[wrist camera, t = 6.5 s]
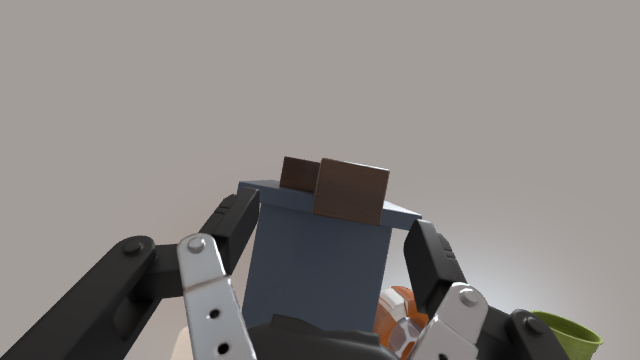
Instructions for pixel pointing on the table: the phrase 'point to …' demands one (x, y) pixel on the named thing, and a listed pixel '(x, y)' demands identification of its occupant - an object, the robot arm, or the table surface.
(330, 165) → the paddle
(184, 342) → the table surface
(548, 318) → the plant pot
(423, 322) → the coil
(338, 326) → the blue tapered column stand
